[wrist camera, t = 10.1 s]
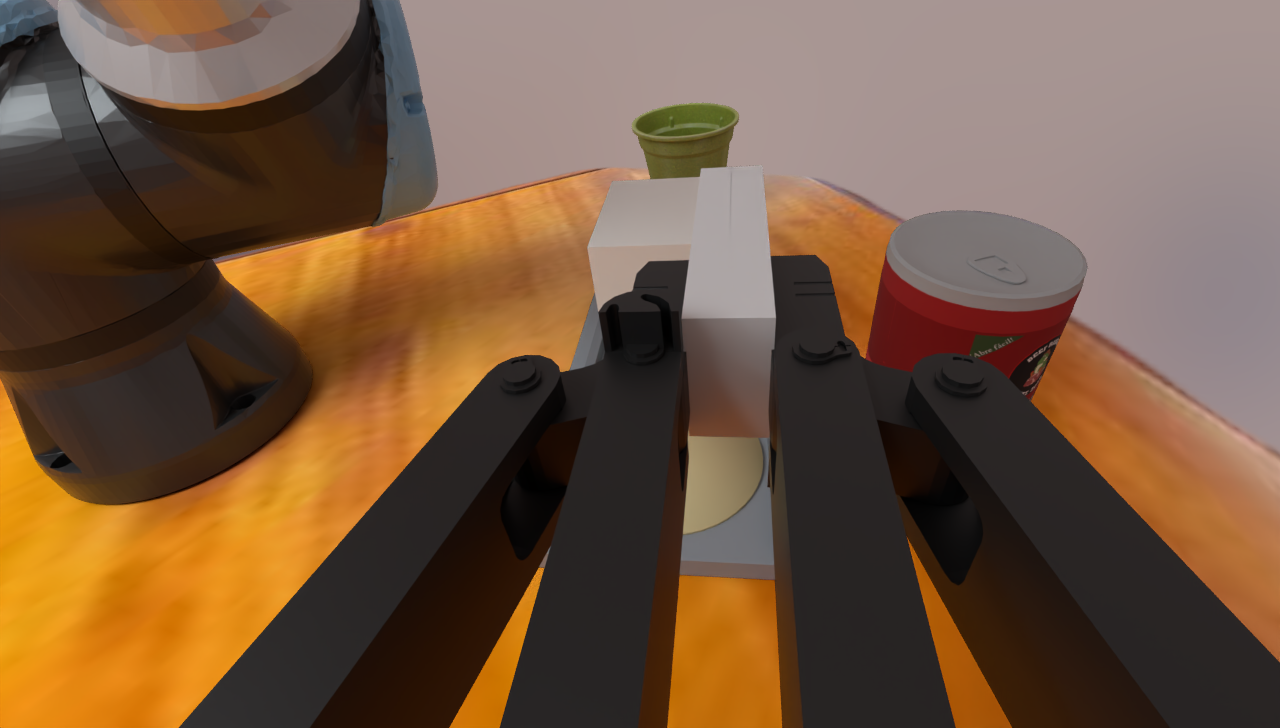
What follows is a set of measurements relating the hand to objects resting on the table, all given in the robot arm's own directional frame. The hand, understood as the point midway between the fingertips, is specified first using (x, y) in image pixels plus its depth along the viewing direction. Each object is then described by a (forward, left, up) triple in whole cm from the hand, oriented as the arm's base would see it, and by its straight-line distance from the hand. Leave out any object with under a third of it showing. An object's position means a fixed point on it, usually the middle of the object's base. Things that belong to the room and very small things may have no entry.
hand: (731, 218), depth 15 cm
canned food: (-3, +15, -18) cm, 23 cm away
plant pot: (-35, +17, -18) cm, 43 cm away
